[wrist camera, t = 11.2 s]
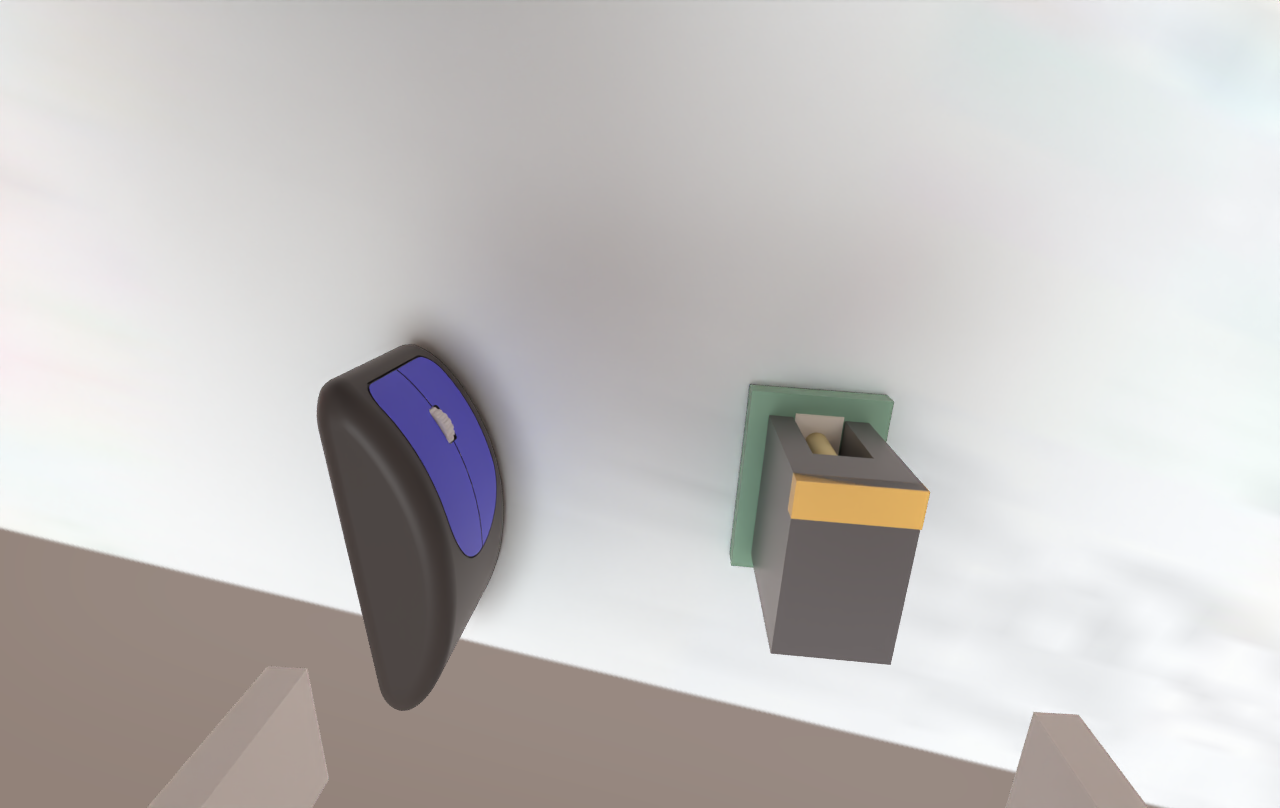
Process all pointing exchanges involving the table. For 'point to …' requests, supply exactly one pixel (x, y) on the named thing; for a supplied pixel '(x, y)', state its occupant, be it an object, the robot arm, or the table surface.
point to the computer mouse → (412, 509)
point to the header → (820, 428)
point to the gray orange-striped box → (834, 543)
